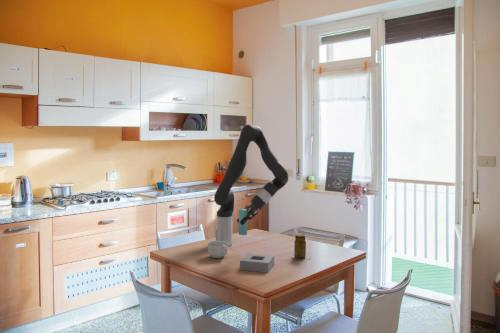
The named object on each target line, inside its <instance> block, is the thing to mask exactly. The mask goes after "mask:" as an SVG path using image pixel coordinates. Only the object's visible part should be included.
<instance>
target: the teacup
mask: <svg viewBox="0 0 500 333" xmlns="http://www.w3.org/2000/svg"><path fill="white" fill-rule="evenodd" d="M228 247H229V246H228V243H227V242H224V241H216V240H211V241H210V240H209V241H208V242H207V254H208V256H210V257H211V258H213V259H223V258H224V257H225V256H226V255H227V253H228Z"/></svg>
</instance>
